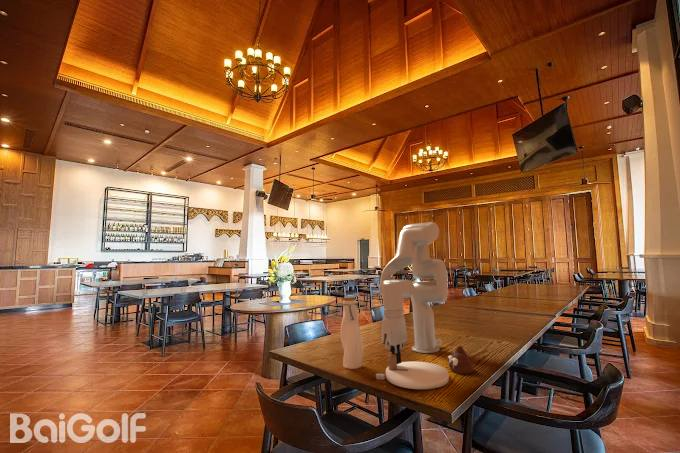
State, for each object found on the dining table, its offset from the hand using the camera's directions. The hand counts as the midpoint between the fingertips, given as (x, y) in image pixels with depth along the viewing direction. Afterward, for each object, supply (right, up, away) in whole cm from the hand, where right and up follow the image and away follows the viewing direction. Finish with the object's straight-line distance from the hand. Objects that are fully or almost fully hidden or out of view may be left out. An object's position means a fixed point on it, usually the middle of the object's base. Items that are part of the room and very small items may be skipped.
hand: (396, 362), depth 121 cm
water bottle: (-16, -6, +10) cm, 20 cm away
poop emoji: (+25, -3, 0) cm, 25 cm away
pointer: (-7, -4, -5) cm, 9 cm away
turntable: (+6, -3, -7) cm, 10 cm away
